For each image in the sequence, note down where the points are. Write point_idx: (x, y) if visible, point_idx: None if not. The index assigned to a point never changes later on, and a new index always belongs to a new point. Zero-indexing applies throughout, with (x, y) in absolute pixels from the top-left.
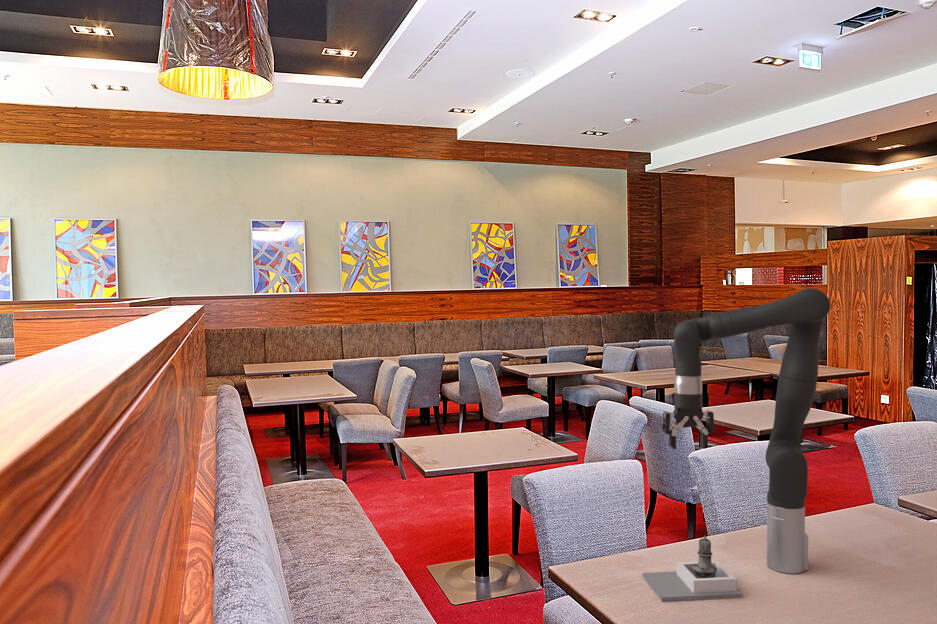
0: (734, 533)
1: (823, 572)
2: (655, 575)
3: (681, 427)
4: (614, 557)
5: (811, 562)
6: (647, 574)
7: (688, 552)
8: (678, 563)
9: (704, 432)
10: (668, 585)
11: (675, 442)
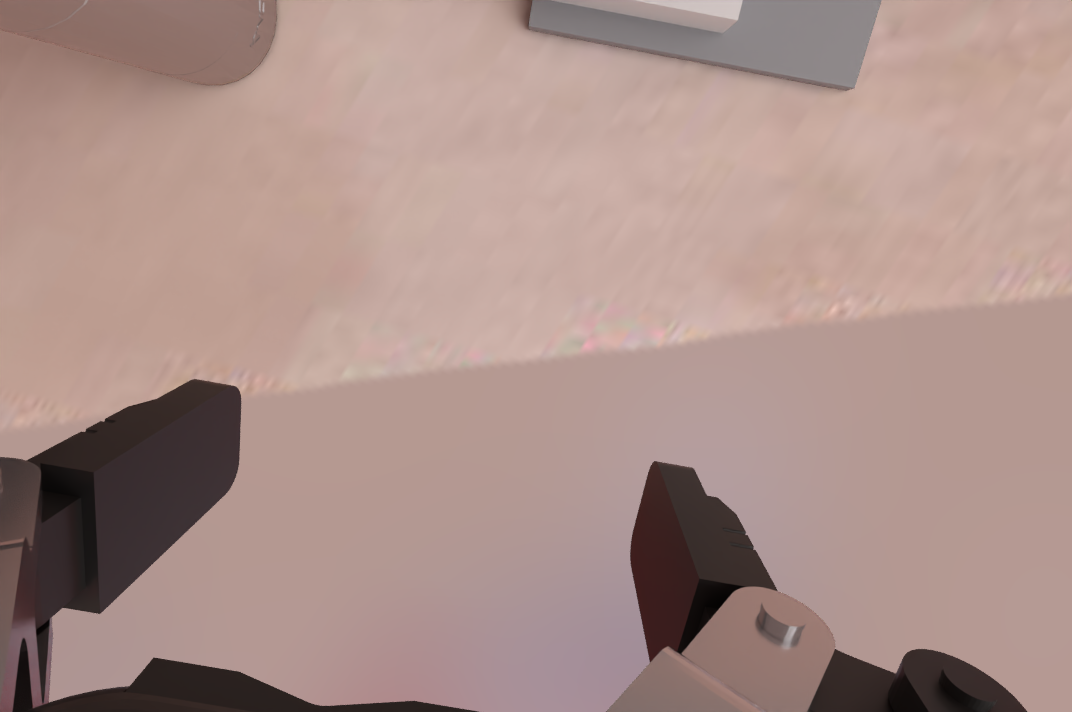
0: None
1: None
2: (818, 46)
3: (635, 693)
4: (835, 305)
5: None
6: (844, 67)
7: (518, 266)
8: (735, 8)
9: (3, 501)
10: None
11: (686, 507)
